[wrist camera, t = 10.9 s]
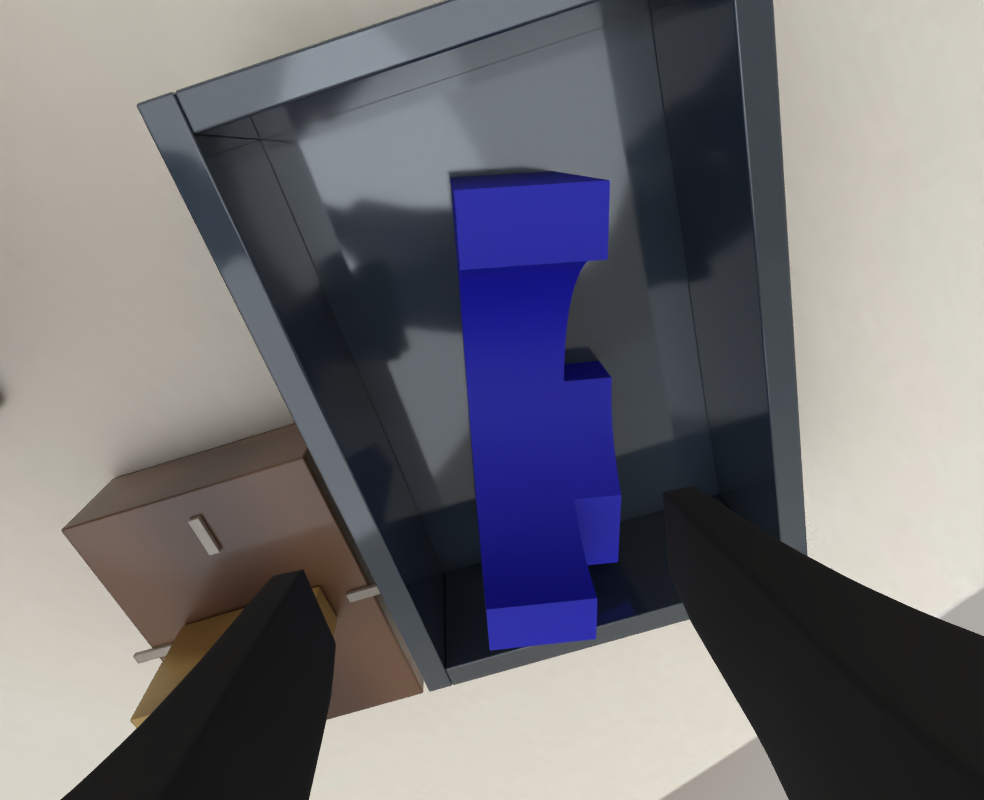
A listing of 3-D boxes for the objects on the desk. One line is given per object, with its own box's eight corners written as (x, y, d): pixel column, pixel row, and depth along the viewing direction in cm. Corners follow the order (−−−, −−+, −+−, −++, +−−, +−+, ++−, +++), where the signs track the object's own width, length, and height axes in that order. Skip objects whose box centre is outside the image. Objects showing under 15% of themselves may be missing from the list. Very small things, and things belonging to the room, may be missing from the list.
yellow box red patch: (204, 657, 20) (154, 763, 16) (181, 625, 19) (124, 728, 16) (338, 618, 19) (316, 718, 16) (319, 585, 19) (292, 681, 15)
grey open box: (432, 578, 23) (429, 692, 18) (229, 119, 16) (134, 103, 11) (730, 492, 22) (809, 586, 17) (663, -26, 15) (767, -109, 10)
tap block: (239, 684, 24) (212, 755, 22) (96, 483, 20) (37, 539, 17) (439, 628, 24) (438, 693, 21) (339, 409, 19) (321, 453, 17)
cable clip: (595, 509, 21) (648, 633, 16) (477, 520, 21) (489, 650, 15) (604, 167, 16) (686, 175, 11) (450, 177, 16) (453, 190, 10)
